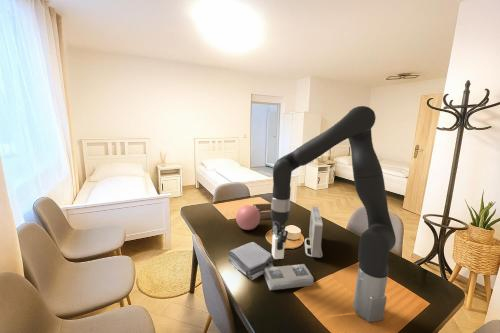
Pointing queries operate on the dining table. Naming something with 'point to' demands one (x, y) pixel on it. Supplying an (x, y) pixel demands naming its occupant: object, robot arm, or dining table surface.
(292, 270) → the patch panel
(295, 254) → the dining table surface
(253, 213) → the pink rubber ball
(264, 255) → the towel
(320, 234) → the network device
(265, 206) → the coaster tray
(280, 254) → the plug
